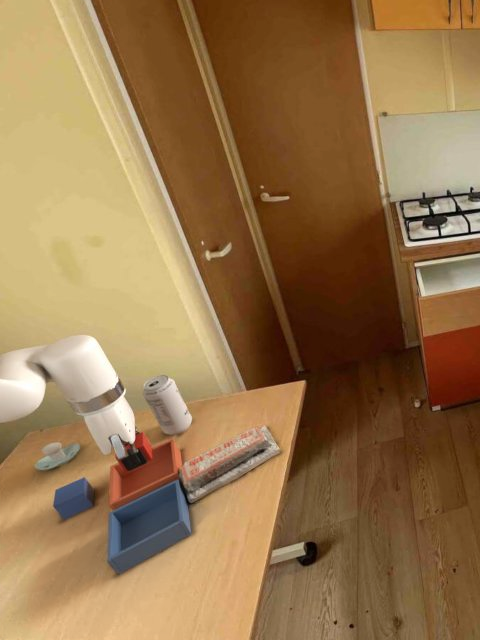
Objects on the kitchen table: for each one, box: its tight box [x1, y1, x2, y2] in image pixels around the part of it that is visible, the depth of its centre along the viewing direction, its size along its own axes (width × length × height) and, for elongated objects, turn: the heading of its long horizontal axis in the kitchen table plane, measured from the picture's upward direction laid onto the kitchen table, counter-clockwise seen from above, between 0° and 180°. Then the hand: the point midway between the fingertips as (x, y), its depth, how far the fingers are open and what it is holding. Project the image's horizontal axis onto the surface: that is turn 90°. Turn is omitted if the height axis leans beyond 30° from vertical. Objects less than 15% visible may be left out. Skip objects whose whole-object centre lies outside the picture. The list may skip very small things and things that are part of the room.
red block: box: [114, 431, 153, 472], centre depth 88 cm, size 4×4×4 cm
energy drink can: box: [142, 374, 193, 436], centre depth 103 cm, size 6×6×15 cm
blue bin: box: [106, 479, 192, 575], centre depth 83 cm, size 11×11×4 cm
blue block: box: [52, 476, 95, 520], centre depth 87 cm, size 4×4×4 cm
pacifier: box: [34, 442, 80, 471], centre depth 96 cm, size 7×6×6 cm
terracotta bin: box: [108, 438, 184, 511], centre depth 92 cm, size 11×11×4 cm
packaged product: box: [179, 425, 280, 504], centre depth 96 cm, size 18×5×10 cm
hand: (137, 456), depth 89 cm, fingers closed on red block, 4 cm apart
